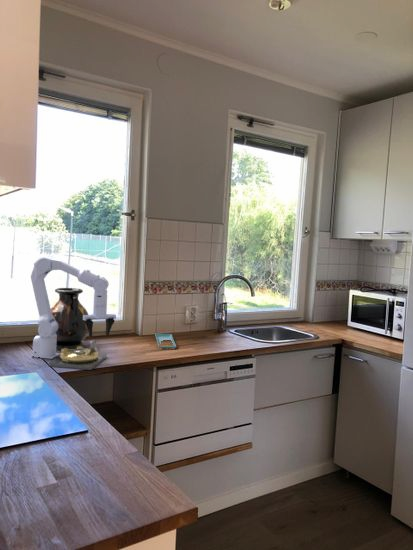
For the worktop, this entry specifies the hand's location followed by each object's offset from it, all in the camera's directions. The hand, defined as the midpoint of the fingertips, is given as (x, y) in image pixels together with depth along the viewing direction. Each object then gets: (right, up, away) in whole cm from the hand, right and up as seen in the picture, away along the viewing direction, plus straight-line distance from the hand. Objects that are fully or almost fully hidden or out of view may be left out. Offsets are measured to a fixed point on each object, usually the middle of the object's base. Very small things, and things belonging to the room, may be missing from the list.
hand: (98, 335), depth 198 cm
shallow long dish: (+26, -10, +38) cm, 47 cm away
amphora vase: (-20, -8, +19) cm, 28 cm away
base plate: (-7, -10, -6) cm, 14 cm away
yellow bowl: (-7, -9, -6) cm, 13 cm away
